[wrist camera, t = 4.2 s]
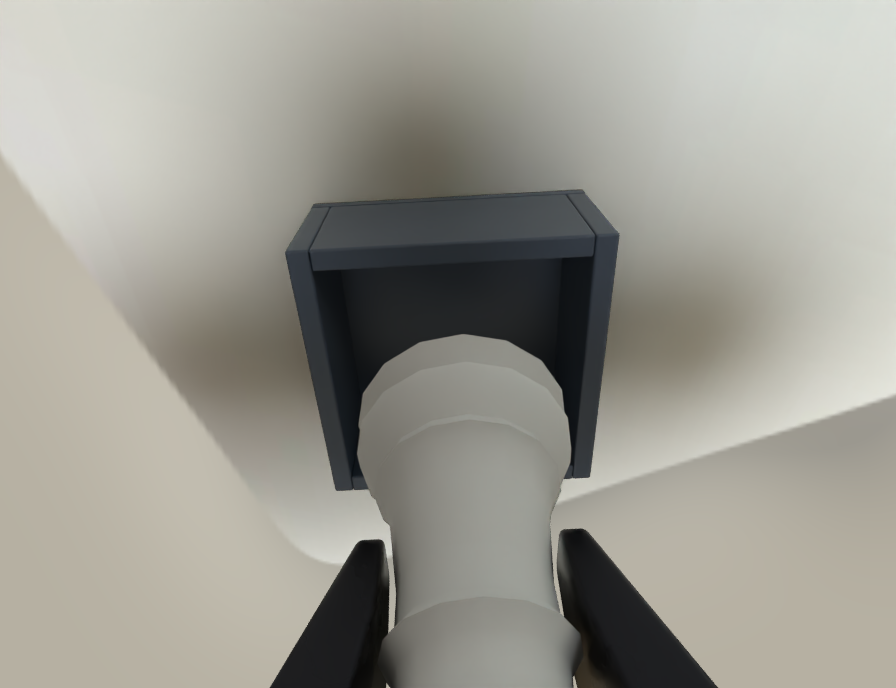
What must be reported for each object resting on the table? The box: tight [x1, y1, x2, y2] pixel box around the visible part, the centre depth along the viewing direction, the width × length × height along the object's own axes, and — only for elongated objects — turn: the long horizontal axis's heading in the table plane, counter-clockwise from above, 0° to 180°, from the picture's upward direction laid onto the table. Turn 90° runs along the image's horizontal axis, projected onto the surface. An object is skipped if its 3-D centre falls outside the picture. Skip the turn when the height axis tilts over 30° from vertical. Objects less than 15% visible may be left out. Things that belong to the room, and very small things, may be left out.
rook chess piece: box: [357, 334, 584, 688], centre depth 9 cm, size 4×4×8 cm
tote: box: [285, 190, 619, 491], centre depth 15 cm, size 7×7×3 cm
